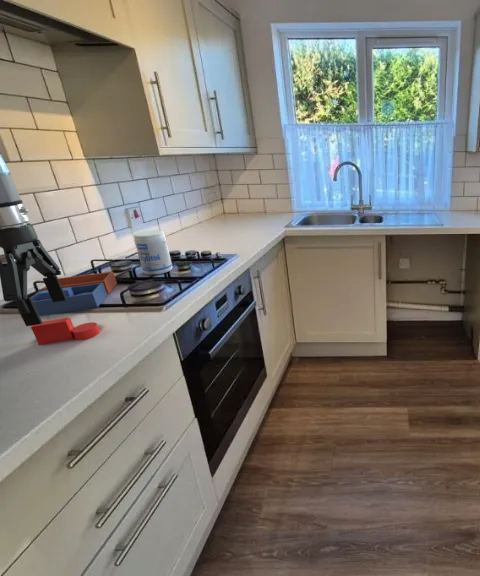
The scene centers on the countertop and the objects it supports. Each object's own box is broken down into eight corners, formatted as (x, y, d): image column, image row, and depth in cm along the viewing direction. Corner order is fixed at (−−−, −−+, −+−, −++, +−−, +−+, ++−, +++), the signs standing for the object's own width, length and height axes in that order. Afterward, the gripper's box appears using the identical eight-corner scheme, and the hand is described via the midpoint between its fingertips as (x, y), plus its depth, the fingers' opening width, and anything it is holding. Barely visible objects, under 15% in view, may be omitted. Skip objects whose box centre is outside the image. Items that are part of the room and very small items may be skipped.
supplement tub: (142, 277, 130) (130, 237, 124) (145, 269, 137) (134, 231, 132) (173, 272, 133) (162, 233, 128) (174, 265, 141) (164, 228, 136)
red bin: (47, 302, 112) (41, 288, 110) (60, 291, 119) (55, 278, 118) (109, 293, 117) (104, 280, 115) (117, 283, 125) (113, 271, 123)
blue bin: (29, 317, 102) (23, 303, 100) (44, 304, 110) (39, 291, 108) (97, 307, 107) (92, 293, 105) (107, 295, 115) (102, 282, 113)
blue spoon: (42, 311, 104) (35, 295, 102) (50, 304, 109) (44, 289, 107) (92, 304, 108) (86, 288, 106) (98, 297, 113) (93, 282, 111)
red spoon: (36, 347, 87) (27, 329, 85) (45, 337, 91) (38, 319, 89) (96, 337, 91) (89, 319, 89) (102, 328, 95) (96, 311, 93)
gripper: (-3, 237, 69) (43, 332, 78) (54, 213, 91) (85, 290, 99) (-54, 242, 67) (-1, 340, 75) (17, 216, 89) (52, 295, 97)
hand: (48, 312), depth 87 cm, fingers open, 13 cm apart
